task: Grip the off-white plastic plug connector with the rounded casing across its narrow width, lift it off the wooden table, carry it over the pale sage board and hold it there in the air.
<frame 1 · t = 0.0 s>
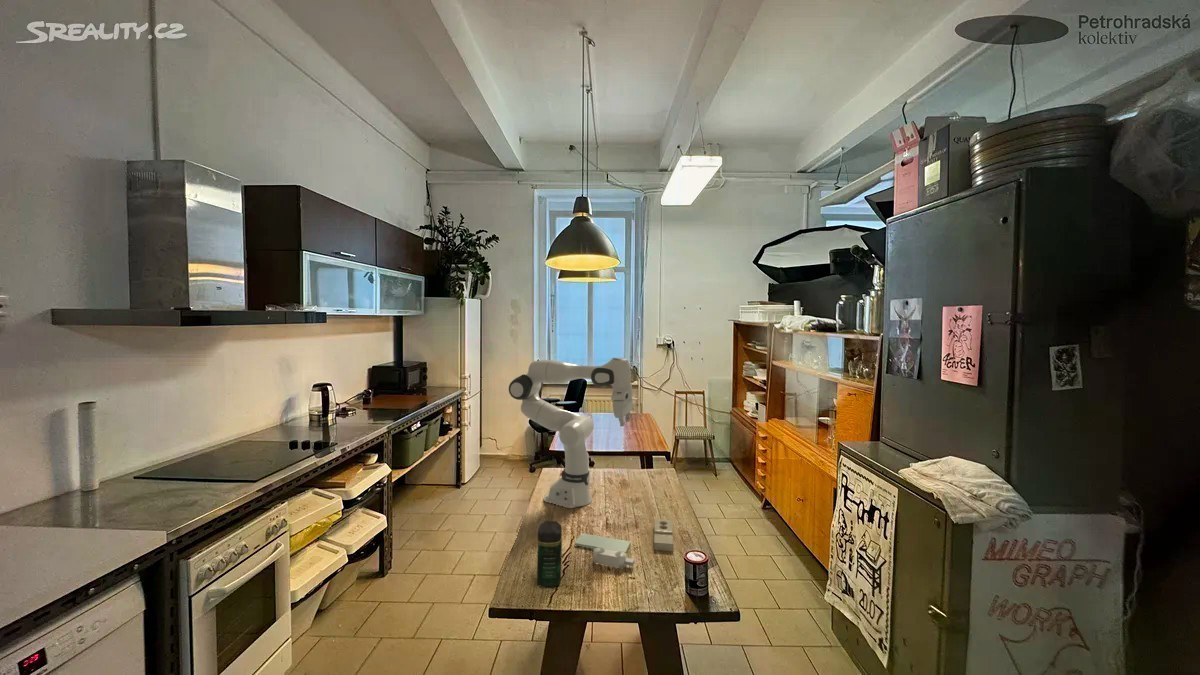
hand: (625, 423, 201), 39 cm above the table, tool pointing down, fingers open, 8 cm apart
sage board: (602, 545, 170), on the table
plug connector: (609, 563, 157), on the table
electrical outlet: (663, 539, 176), on the table
coffee jar: (549, 580, 147), on the table
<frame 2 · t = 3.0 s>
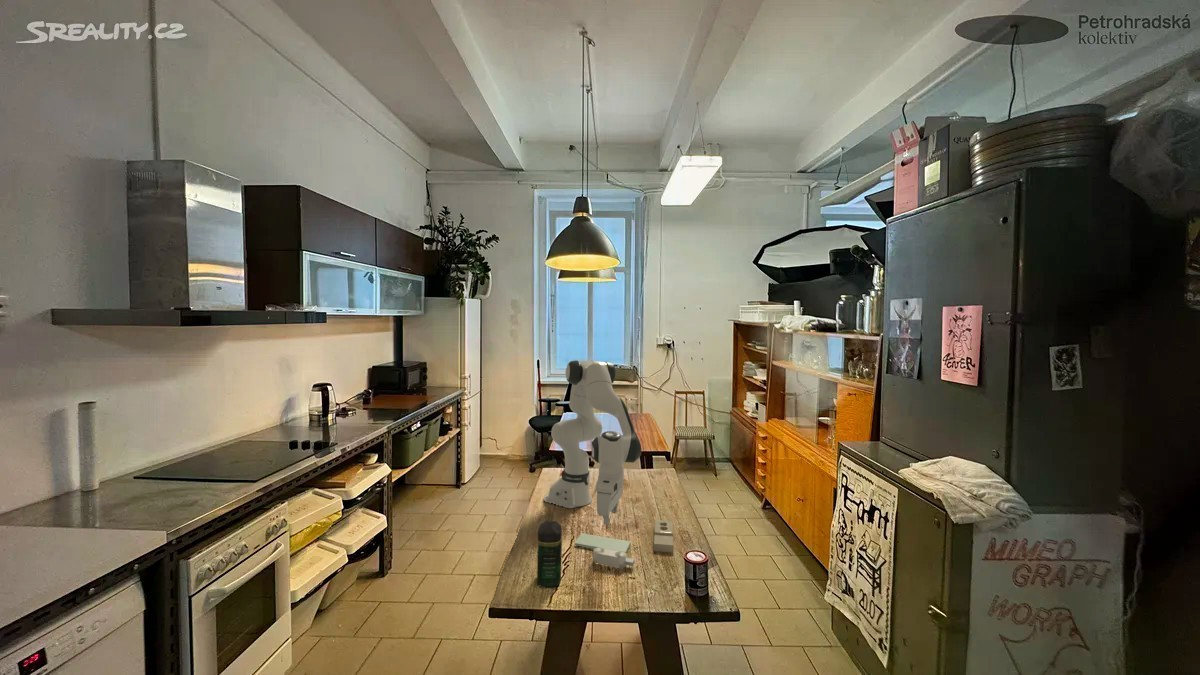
hand: (610, 517, 156), 17 cm above the table, tool pointing down, fingers open, 8 cm apart
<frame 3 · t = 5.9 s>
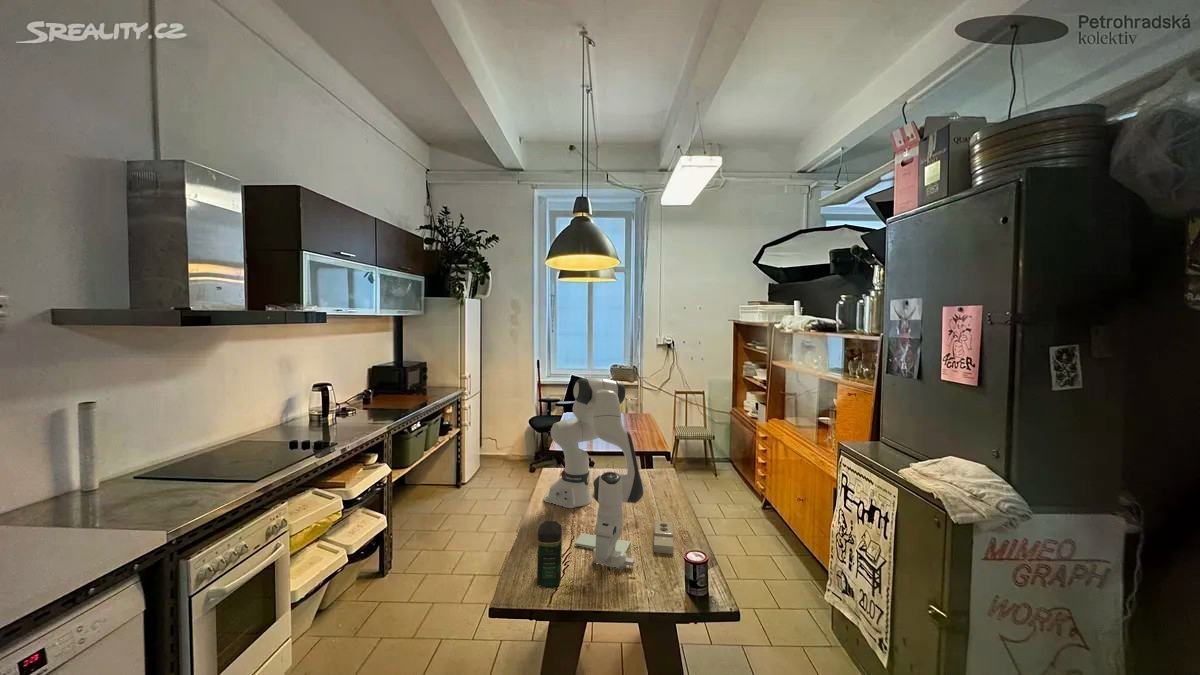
hand: (609, 558, 157), 2 cm above the table, tool pointing down, fingers closed on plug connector, 4 cm apart
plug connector: (609, 563, 157), on the table, touching gripper
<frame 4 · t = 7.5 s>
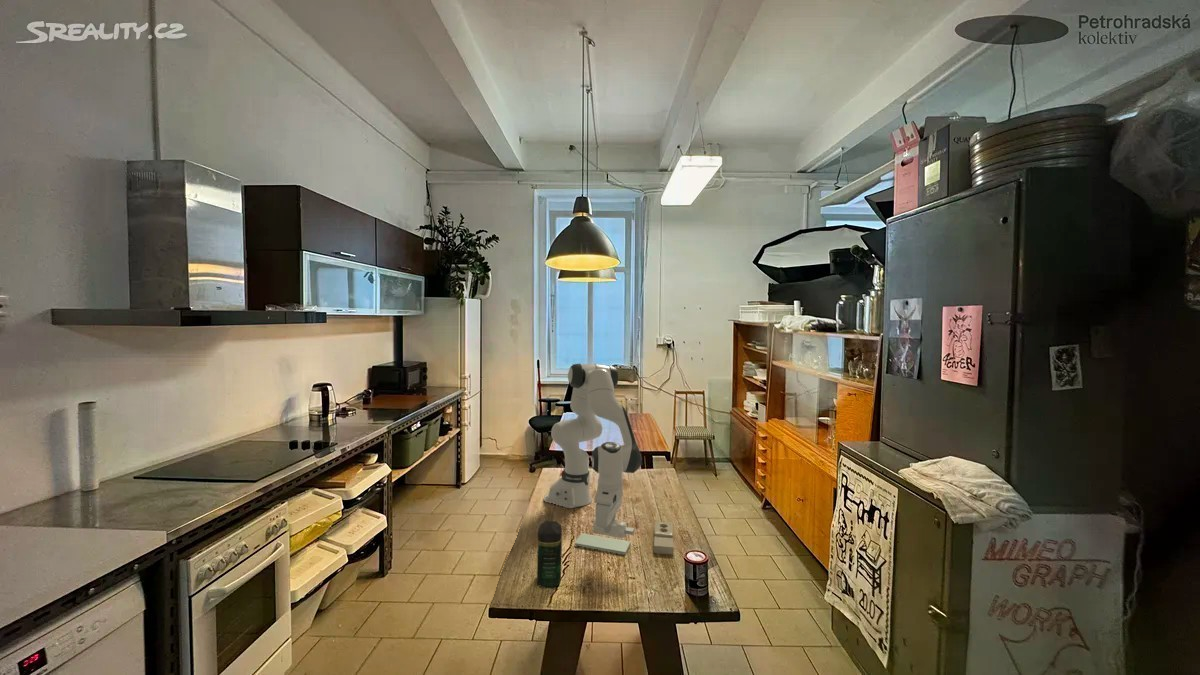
hand: (609, 528, 157), 13 cm above the table, tool pointing down, fingers closed on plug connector, 4 cm apart
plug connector: (609, 533, 157), point 11 cm above the table, touching gripper
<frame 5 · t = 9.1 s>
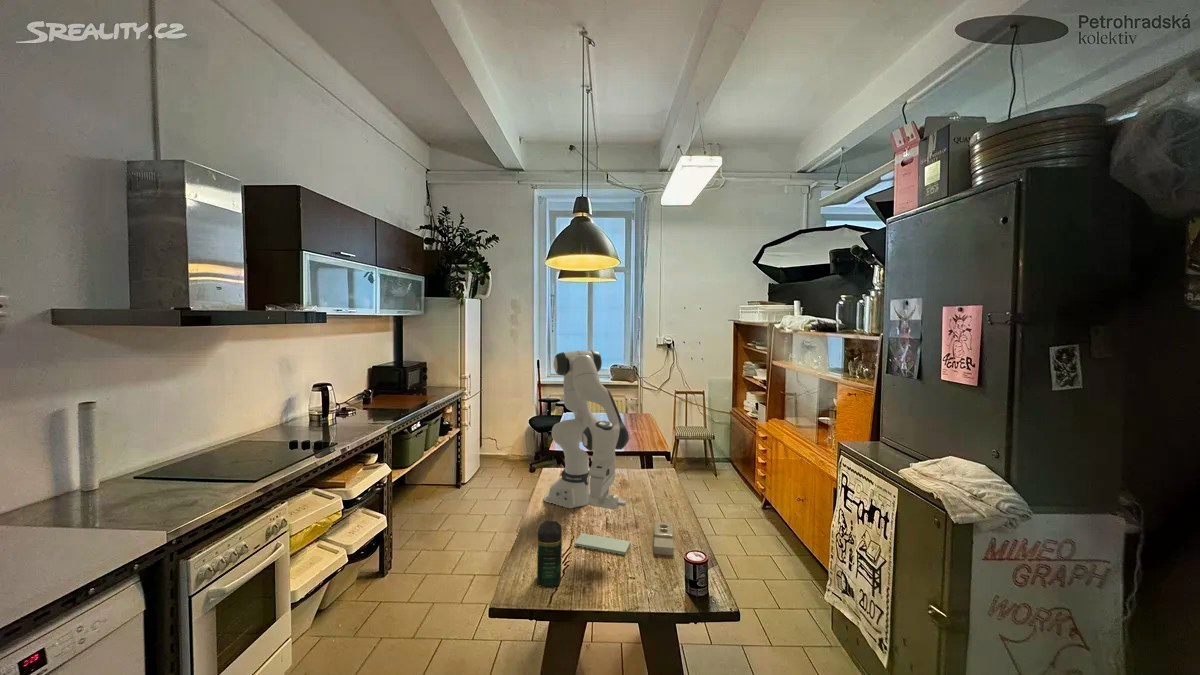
hand: (603, 500, 169), 17 cm above the table, tool pointing down, fingers closed on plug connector, 4 cm apart
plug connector: (603, 505, 169), point 16 cm above the table, touching gripper
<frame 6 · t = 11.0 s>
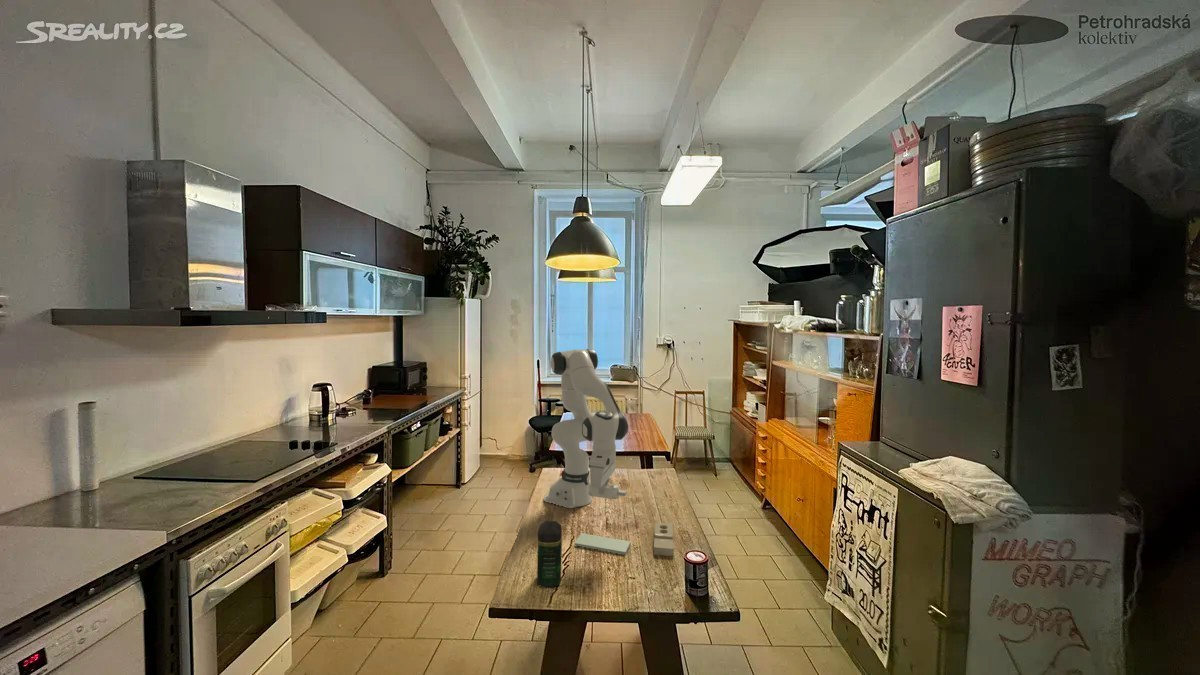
hand: (603, 491, 169), 21 cm above the table, tool pointing down, fingers closed on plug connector, 4 cm apart
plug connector: (603, 495, 169), point 19 cm above the table, touching gripper
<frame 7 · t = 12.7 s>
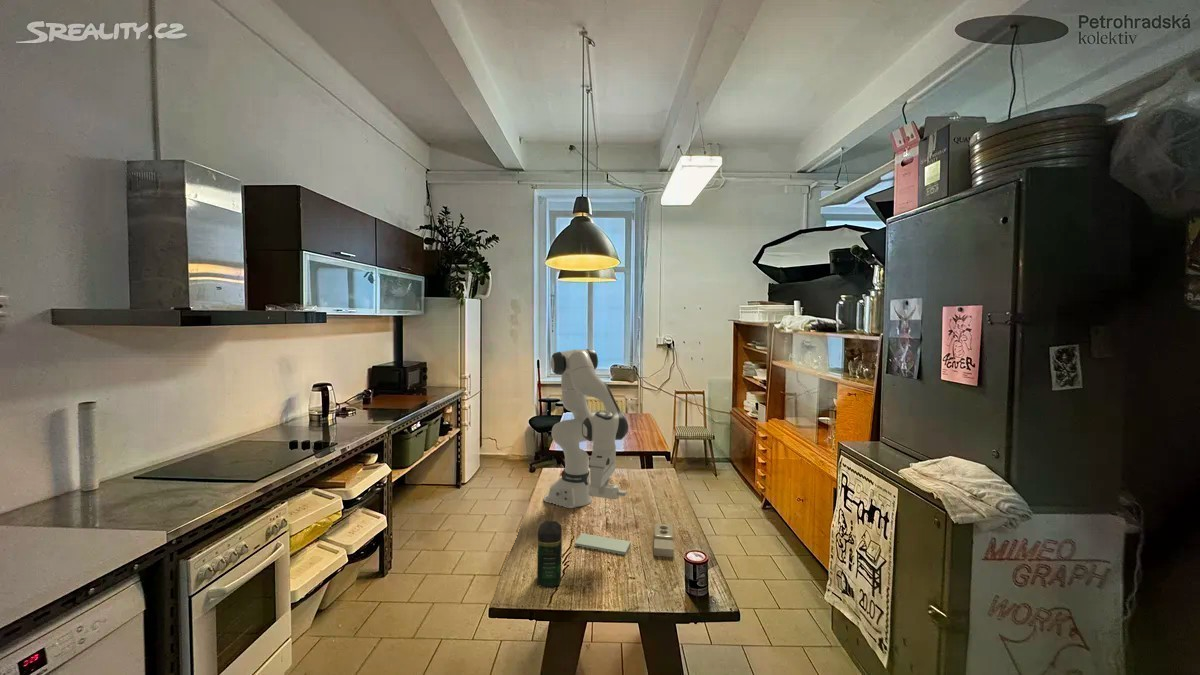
hand: (603, 491, 169), 21 cm above the table, tool pointing down, fingers closed on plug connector, 4 cm apart
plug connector: (603, 495, 169), point 19 cm above the table, touching gripper
at the end: the gripper is holding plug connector; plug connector point 19.4 cm above the table; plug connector inside the target area on the sage board (0.0 cm from its centre), point 19.4 cm above the sage board's base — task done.
